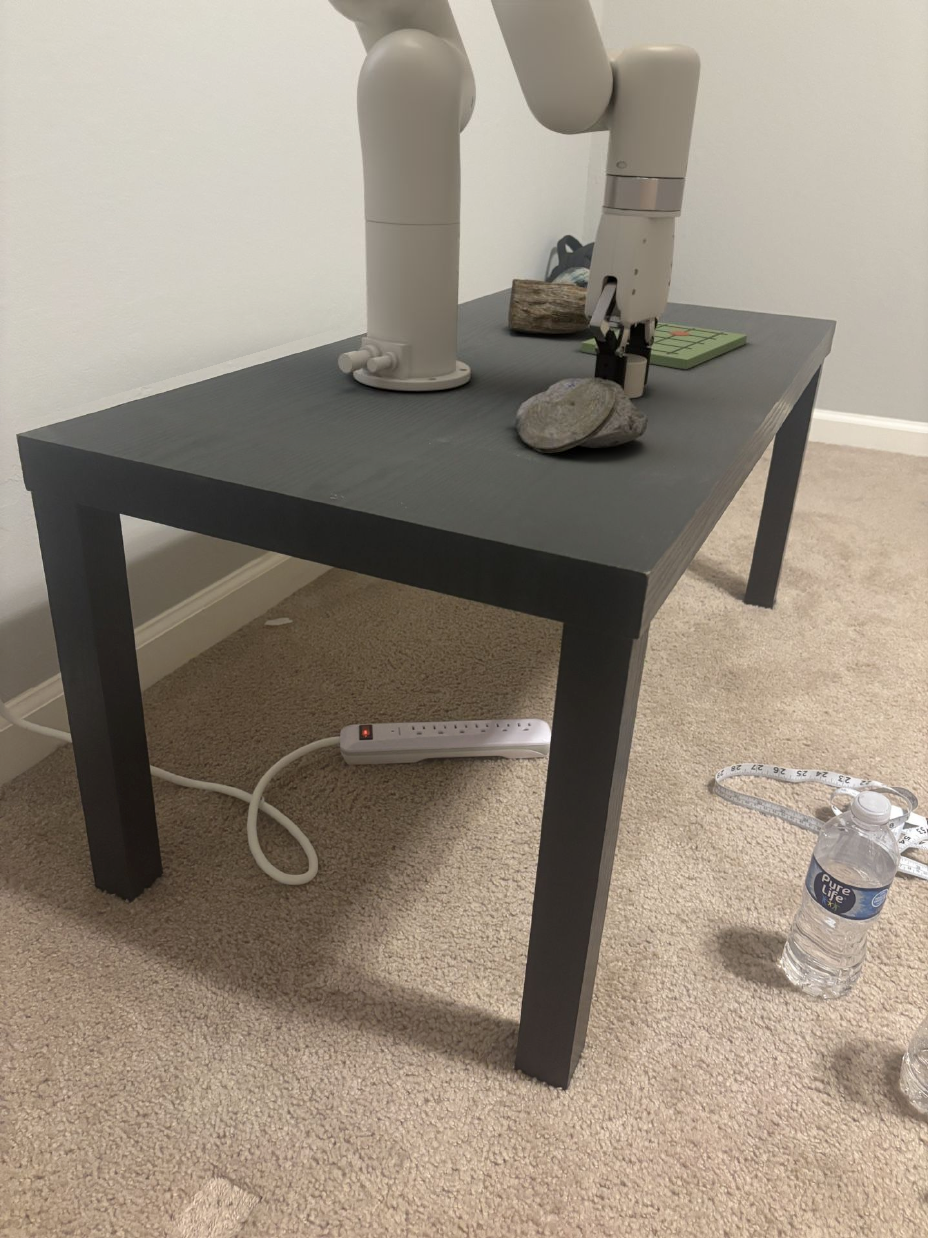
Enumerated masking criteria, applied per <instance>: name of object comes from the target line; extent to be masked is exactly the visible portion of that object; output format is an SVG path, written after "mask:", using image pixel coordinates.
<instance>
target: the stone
mask: <svg viewBox="0 0 928 1238" xmlns="http://www.w3.org/2000/svg"><path fill="white" fill-rule="evenodd" d="M511 282H512V283H511V292H510V298H509V304H508V313H507V314H508V315H507V316H508V317H507V321H508V328H509V330H512V331H515V332H522V333H528V334H548V335H549V334H551V335H558V334H574V333H578V332H580V331H584V330H585V329H587V328H588V327H589V325H590V321H591V320H588V319H587V318H586V316H585V303H586V294H587V288H583V287H578V286H576V285H574V284H564V283H555V282H553V281H552V282H553V283H552V282H549V281H548V282H547V281H542V280H537V279H527V278H526V279H521V278H520V279H519V278H513V279H512V281H511Z"/></svg>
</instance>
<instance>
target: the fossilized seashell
mask: <svg viewBox="0 0 928 1238" xmlns="http://www.w3.org/2000/svg"><path fill="white" fill-rule="evenodd" d="M648 422H649V420H648V417H647V416H646V413H644V412H643V411H641V410H638V409H637V407H636V406H635V405H634V404H633V403H632V402H631V398H628V397H627V396H626V395H625V394H624V392H623V389H622V387H621V386H620V385H618V384H617V383H615V382H613V381H610V380H603V379H601V378H594V377H593V376H591V377H585V378H572V377H569V378H565V379H561V380H560V381H558V382H556V383H554V384H551V385H550V386H549V388H548V389H547V390H546V391H543V392H539V393H537V394H535V395H532V396H531V397H530V398H528V399H527V400H526V401H523V402H522V403H521V405H520V406H519V407H518V410H517V412H516V417H515V423H514V425H515V426H516V431H517V433H518V435H519V437H520V438H521V440H522V441H523V442H524V443H525V444H527V445H528V447H530V448H532V449H533V450H534V451H537V452H539V453H544V454H545V453H546V454H552V453H553V454H554V453H560V452H564V451H568V450H570V449H572V448H575V447H577V446H579V447H581V448H587V449H588V448H590V449H604V448H612V447H616V446H621V445H623V444H626V443H629V442H631V441H634V440H635V439H638V438H640V437H642V436H643V435H644V434H645V433H646V430H647V428H648Z"/></svg>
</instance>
